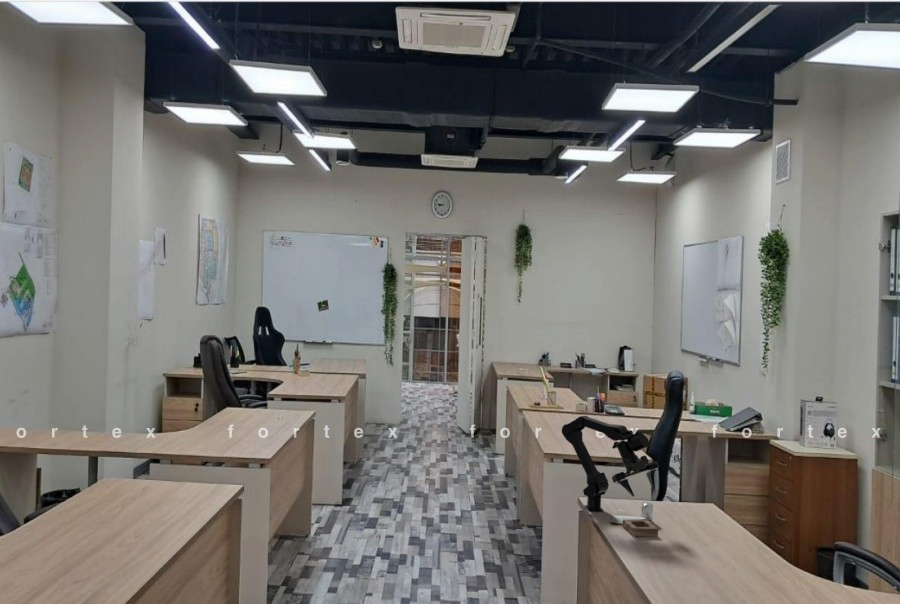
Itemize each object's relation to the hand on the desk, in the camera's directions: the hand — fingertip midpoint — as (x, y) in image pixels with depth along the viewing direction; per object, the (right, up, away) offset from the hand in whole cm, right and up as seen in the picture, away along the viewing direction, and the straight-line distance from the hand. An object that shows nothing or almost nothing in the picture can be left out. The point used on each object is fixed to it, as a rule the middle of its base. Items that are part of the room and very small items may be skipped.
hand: (643, 492), depth 253 cm
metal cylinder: (+3, -13, +6) cm, 15 cm away
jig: (-3, -13, -6) cm, 15 cm away
